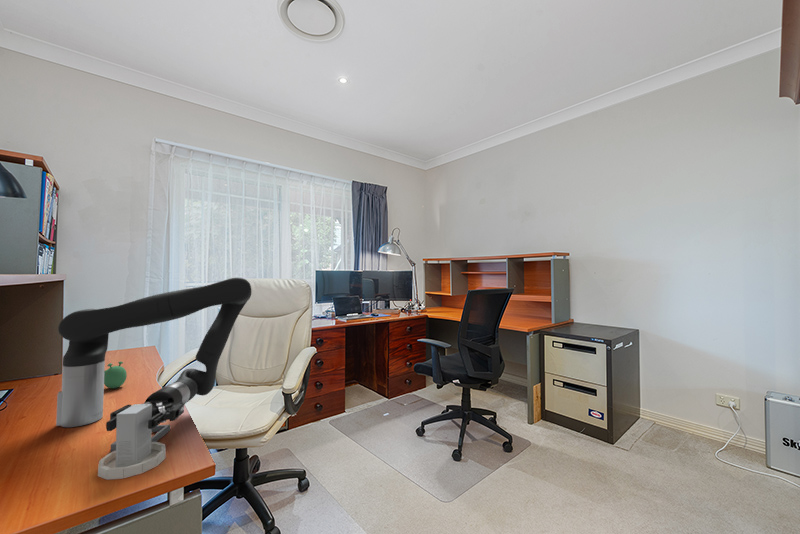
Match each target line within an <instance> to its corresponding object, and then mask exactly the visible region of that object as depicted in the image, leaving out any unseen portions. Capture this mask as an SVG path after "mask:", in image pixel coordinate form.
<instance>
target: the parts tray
mask: <svg viewBox="0 0 800 534" xmlns="http://www.w3.org/2000/svg"><path fill="white" fill-rule="evenodd" d="M168 431H169V432H170V431H171V424H159V425H158V426H156V427H154V428H153V429H152V433H155V434H154V435H152V436H151V442H159V441H160V439H162V438H163V437H164V436H165V435H167V433H169V432H168ZM113 451H116V440H115V441H113V442H112V443H111V444H110V452H113Z"/></svg>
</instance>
